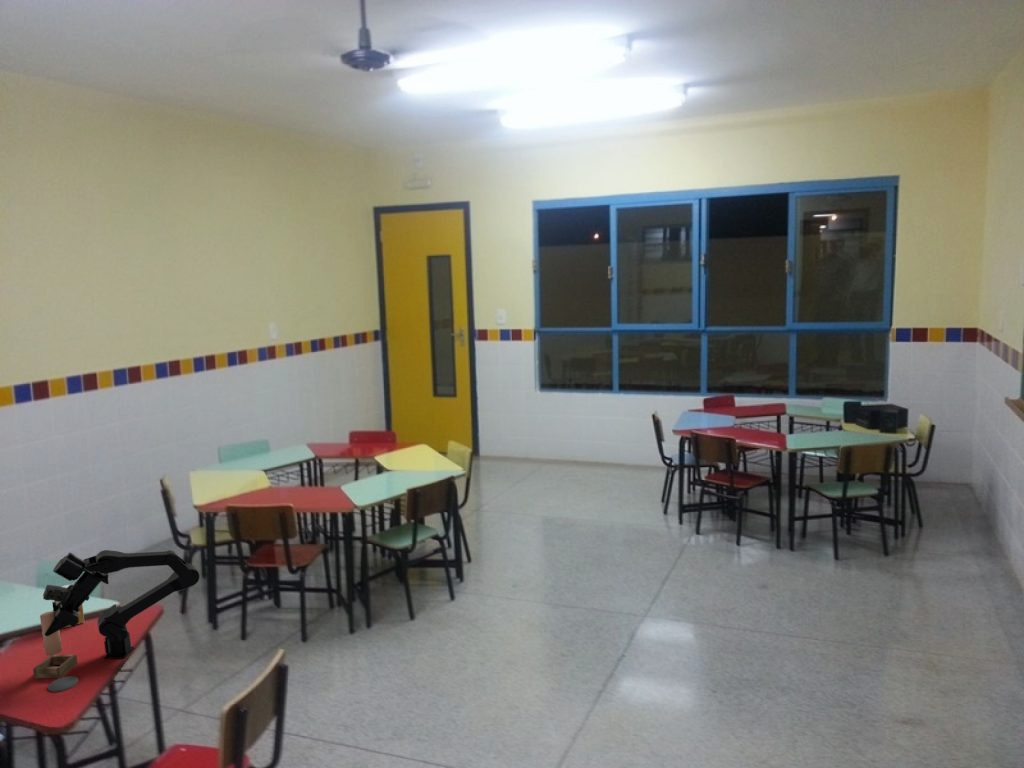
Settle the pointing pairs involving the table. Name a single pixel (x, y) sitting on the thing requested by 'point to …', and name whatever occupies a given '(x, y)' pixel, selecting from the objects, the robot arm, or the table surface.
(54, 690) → the charcoal coaster
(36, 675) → the walnut socket
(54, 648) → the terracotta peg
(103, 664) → the table surface
